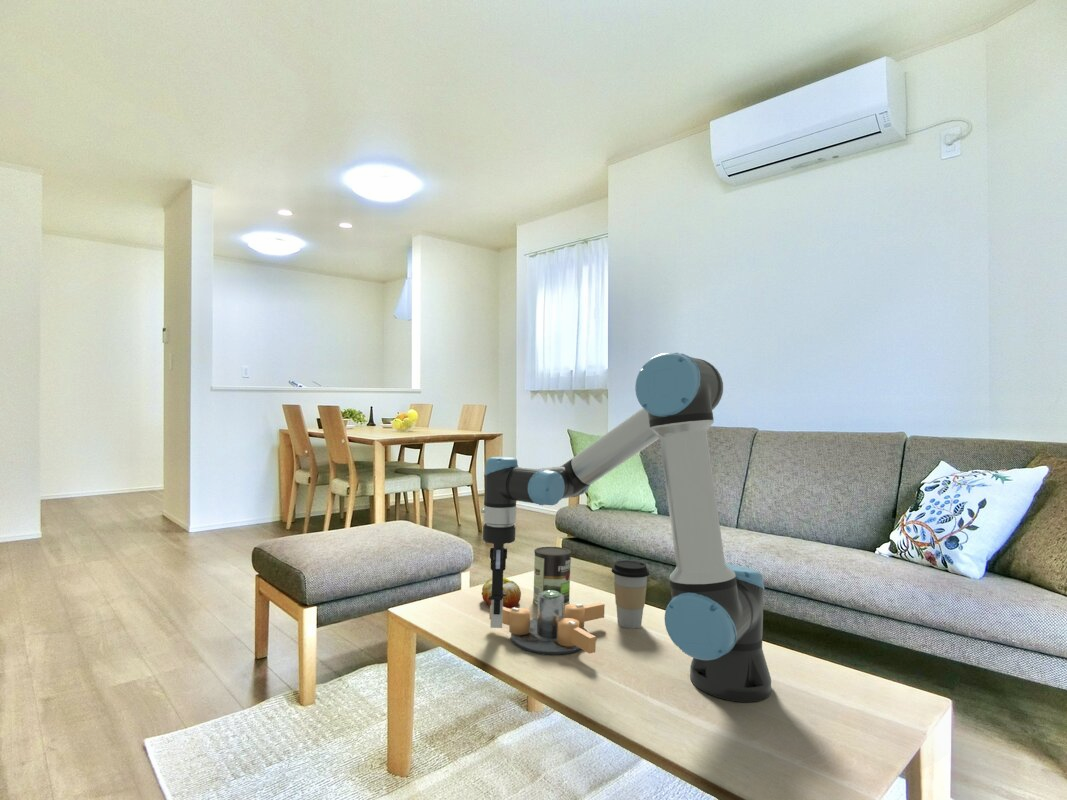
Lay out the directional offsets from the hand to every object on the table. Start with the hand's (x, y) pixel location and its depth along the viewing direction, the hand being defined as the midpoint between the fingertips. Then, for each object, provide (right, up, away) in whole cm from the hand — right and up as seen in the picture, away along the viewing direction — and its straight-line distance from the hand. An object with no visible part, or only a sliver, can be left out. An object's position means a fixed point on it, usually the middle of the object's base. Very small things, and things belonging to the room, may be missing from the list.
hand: (496, 626), depth 130 cm
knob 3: (+18, -1, -8) cm, 20 cm away
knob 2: (+21, -2, +6) cm, 22 cm away
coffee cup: (+33, -4, +12) cm, 35 cm away
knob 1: (+3, -1, +2) cm, 4 cm away
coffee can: (+14, -4, +27) cm, 31 cm away
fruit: (0, -4, +24) cm, 24 cm away
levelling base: (+12, -3, +1) cm, 13 cm away
